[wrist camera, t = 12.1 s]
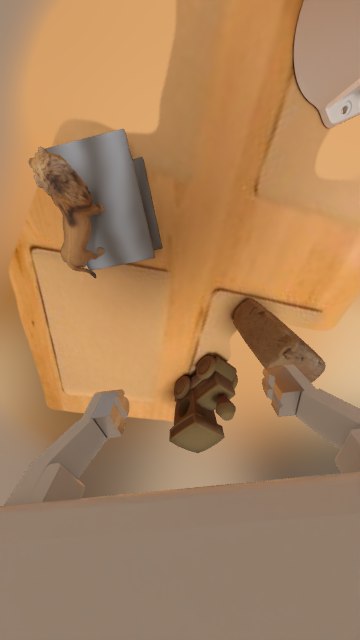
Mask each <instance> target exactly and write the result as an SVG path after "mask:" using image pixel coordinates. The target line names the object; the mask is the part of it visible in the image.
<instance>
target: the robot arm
mask: <svg viewBox="0 0 360 640" xmlns="http://www.w3.org/2000/svg"><path fill="white" fill-rule="evenodd" d="M294 67H295V74H296V78H297V82H298V85H299V87H300V90H301V91H302V93H303V95H304V96H305V98H306V99H307V100H308V101H309V102H310V103H312V104H313V105H314V106H315V107H316V108H317V109H318V110H319V112H320V115H321V118H322V121H323V123H324V125H325V126H326V127H327V128H332V127H334V126H336V125H338V124H341V123H343V122H345V121H347V120H349V119H351V118H353V117H355V116H357V115H359V114H360V0H304V2H303V5H302V8H301V11H300V15H299V19H298V23H297V28H296V34H295V42H294ZM342 109H343V114H342ZM263 375H264V378H263V379H262V385H263V389H264V392H265V394H266V396H267V397H268V398H270V399H271V400H272V406H273V408H274V410H275V412H276V413H277V415H278V417H281V416H292V415H296V417H298V418H299V419H300V420H302V421H303V422H304V423H305V424H307V425H308V426H309V427H310V428H312V429H313V430H314V431H315V432H317V433H318V434H319V435H321V436H322V437H323V438H325V439H326V440H327V441H328V442H330V443H331V444H332V445H333V446H335V447H336V448H337V449H338V450H340V451H339V453H338V455H337V457H336V459H335V464H336V465H337V467H338V468H339V469H340V471H341V473H340V474H330V475H320V476H310V477H300V478H290V479H289V478H288V479H278V480H268V481H257V482H247V483H237V484H227V485H216V486H207V487H196V488H185V489H175V490H164V491H155V492H145V493H134V494H123V495H114V496H104V497H93V498H83V499H81V498H82V495H83V492H84V489H85V487H84V485H83V484H82V483H81V482H80V481H79V480H78V478H79V477H80V476H81V474H82V473H83V472H84V470H85V469H86V467H87V466H88V465H89V463H90V462H91V461H92V459H93V458H94V457H95V455H96V454H97V453H98V451H99V450H100V448H101V447H102V446H103V444H104V443H105V442H106V440H107V438H112V437H119V436H122V434H123V431H124V427H125V421H124V419H125V418H126V417H127V416H128V412H129V401H128V399H127V398H126V397H124V394H125V393H124V391H123V390H112V391H104V392H97V393H95V394H94V396H93V398H92V400H91V401H90V403H89V405H88V407H87V409H86V411H85V413H84V415H83V417H82V419H81V420H80V421H77V422H76V423H75V424H74V425H73V426H72V427H71V428H70V429H68V430H67V431H66V432H65V433H64V434H63V435H62V436H61V437H60V438H59V439H58V440H56V442H54V443H53V444H52V445H51V446H50V447H49V448H48V449H47V450H46V451H45V452H43V454H41V455H40V456H39V457H38V458H37V459H36V460H35V461H34V462H32V463H31V464H30V465H29V467H28V468H27V470H26V471H25V473H24V475H23V476H22V478H21V479H20V481H19V483H18V484H17V485H16V487H15V489H14V490H13V492H12V493H11V495H10V497H9V498H8V500H7V501H6V503H5V504H4V506H0V640H360V409H359V408H357V407H355V406H353V405H351V404H349V403H347V402H345V401H343V400H341V399H339V398H337V397H335V396H333V395H331V394H329V393H327V392H325V391H323V390H321V389H316V388H315V387H314V386H313V385H312V384H311V382H310V381H309V380H308V379H307V378H306V377H305V376H304V375H303V374H302V373H301V372H300V371H299V369H298V368H297V367H296V366H295V365H293V364H292V365H285V366H278V367H272V368H265V369H264V370H263Z"/></svg>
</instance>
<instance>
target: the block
mask: <svg viewBox="0 0 360 640" xmlns="http://www.w3.org/2000/svg"><path fill="white" fill-rule="evenodd" d="M233 323H234V325H235V327H236V328H237V329H238V331H239V333H240V334H241V336H242V338H243V339H244V340H245V342H246V343H247V344H248V346H249V347H250V349H251V350H252V351H253V353H254V354H255V356H256V357H257V358H258V360H259V361H260V362H261V364H262V365H263V366H264V367H265V368H272V367H278V366H285V365H292V364H293V365H295V366H296V367H297V368H298V369H299V371H300V372H301V373H302V374H303V375H304V376H305V377H306V378H307V379H308V380H309V381H310V382H311V383H312V382H313V381H315V380H316V379H317V378H318V377H319V376H320V375H321V374H322V373H323V372H324V370H325V362H324V361H323V360H322V358H321V357H320V356H318V354H316V352H315V351H314V350H312V349H311V348H310V347H309V346H308V345H307V344H306V343H305V342H304V341H303V340H302V339H300V338H299V337H298V336H297V335H296V334H295V333H294V332H293V331H292V330H290V329H289V328H288V327H287V326H286V325H285V324H284V323H283V322H281V321H280V320H279V319H278V318H277V317H276V316H275V315H273V314H272V313H271V312H270V311H268V310H267V309H266V308H265V307H263V306H262V305H261V304H259V303H258V302H256V301H255V300H252V299H248V300H246V301H245V302H243V303H242V304H241V305H240V306H239V307H238V308H237V309H236V311H235V313H234V317H233Z"/></svg>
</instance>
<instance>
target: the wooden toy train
mask: <svg viewBox="0 0 360 640" xmlns="http://www.w3.org/2000/svg"><path fill="white" fill-rule="evenodd" d="M237 382H238V378H237V375H236V369H235V368H234V367H233V366H231V365H230V364H228V363H227V362H226V361H224V360H223V359H221V358H220V357H218V356H217V357H216V358H215V359H214V357H212V356H205V357H204V358H202V359H201V360H200V362H199V363H198V365H197V374H196V375H195V376H194V377H192V378H191V379H190V378H189V377H188V376H182V377H181V378H180V379H179V380H178V381H177V383H176V385H175V388H174V395H175V401H176V408H175V417H174V426H173V427H172V428H171V429H170V442H172V443H174V444H175V445H177V446H179V447H181V448H184V449H186V450H189V451H192V452H196V453H199V452H202V451H205V450H207V449H208V448H210V447H212V446H214V445H215V444H217V443H218V442H220V441H221V440H222V439H223V438H224V433H223V429H222V426H221V425H218V424H217V422H216V417H215V414H214V410H215V409H216V413H217V414H218V415H219V416H220V417H221V418H222V419H224V420H231V419H232V418H233V416H234V413H235V406H234V404H233V403H231V401H230V399H231V398H232V397H233V396H234V395H235V391H234V389H235V387H236V385H237Z"/></svg>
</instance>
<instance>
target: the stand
mask: <svg viewBox="0 0 360 640" xmlns="http://www.w3.org/2000/svg"><path fill="white" fill-rule="evenodd" d="M46 150H47V151H48V152H53V153H54V154H59V155H60V156H61V157H62V158H64V159H65V160H66V162H67V163H68V164H69V165H70V166H71V168H73V169H74V170H75V171H76V172H77V174H78V175H79V176H80V177H81V179H82V180H83V181H84V182H85V183H86V185H87V187H88V191H89V192H90V193H91V195H92V203H93V204H95V205H97V203H98V204H102V205H103V207H104V209H105V210H104V212H103V213H102V214H99V215H97V214H95V215H92V216H91V217H90V225H91V233H90V237H89V240H88V243H87V245H86V249H87V250H88V251H92V252H93V253H94V254H95V253H96V252H97V248H98V247H102V248H104V250H105V253H104V254H103V255H101V256H99V257H98V258H97V259H96V260H93V259H91V260H89V261H88V262H87V266H88V269H89V270H91V271H92V270H97V269H102V268H107V267H112V266H117V265H122V264H127V263H132V262H137V261H143V260H148V259H153V258H155V255H154V250H156V249H161V248H162V244H161V240H160V235H159V230H158V225H157V221H156V216H155V211H154V207H153V202H152V197H151V192H150V188H149V183H148V178H147V174H146V169H145V164H144V160H143V158H142V157H140V158H136V159H132V157H131V153H130V149H129V145H128V141H127V136H126V133H125V131H124V129H120V130H117V131H113V132H109V133H105V134H101V135H97V136H93V137H89V138H85V139H81V140H77V141H74V142H70V143H66V144H62V145H58V146H54V147H50V148H46Z"/></svg>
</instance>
